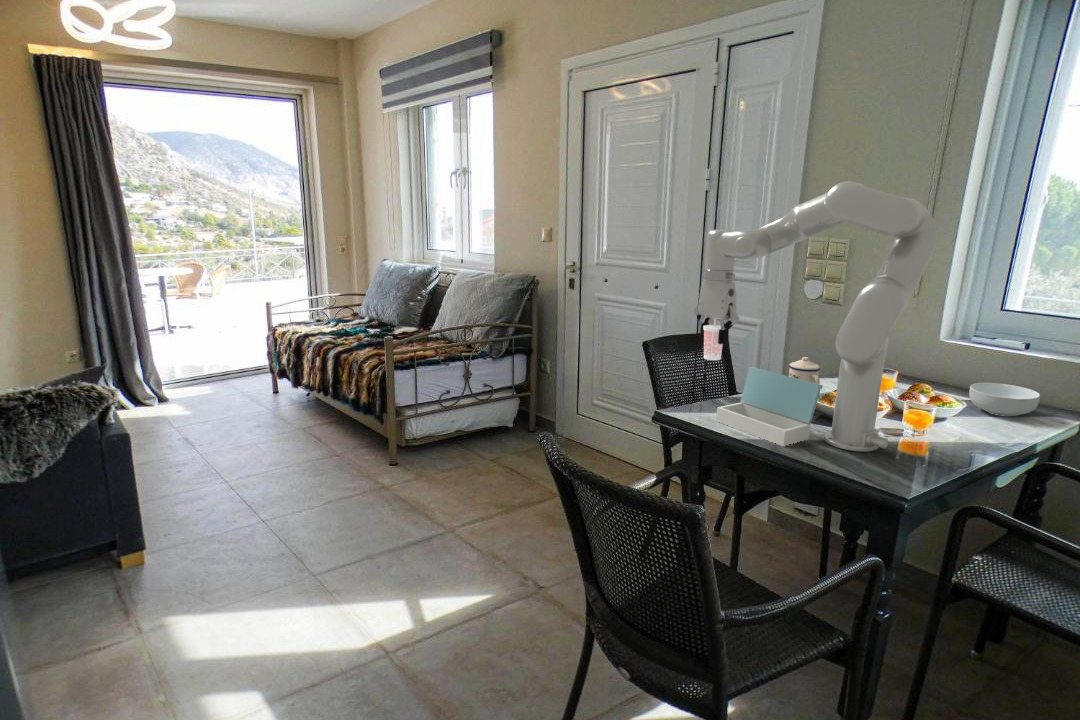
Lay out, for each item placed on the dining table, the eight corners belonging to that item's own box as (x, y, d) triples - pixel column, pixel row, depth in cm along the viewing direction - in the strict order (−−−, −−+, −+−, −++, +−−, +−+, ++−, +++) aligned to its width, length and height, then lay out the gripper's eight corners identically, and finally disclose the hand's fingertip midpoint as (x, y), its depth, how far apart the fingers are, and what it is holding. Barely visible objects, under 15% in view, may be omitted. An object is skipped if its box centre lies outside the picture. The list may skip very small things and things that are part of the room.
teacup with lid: (780, 389, 208) (784, 354, 206) (804, 388, 211) (808, 353, 208) (803, 400, 197) (808, 363, 194) (829, 398, 199) (833, 362, 197)
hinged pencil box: (808, 439, 163) (810, 424, 163) (783, 446, 158) (784, 431, 157) (740, 415, 182) (742, 402, 181) (715, 421, 176) (717, 407, 176)
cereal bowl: (963, 401, 199) (966, 379, 197) (1028, 409, 191) (1033, 386, 190) (970, 416, 184) (974, 393, 182) (1041, 426, 177) (1047, 401, 175)
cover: (808, 424, 162) (811, 424, 163) (819, 384, 161) (822, 385, 162) (740, 401, 180) (743, 402, 181) (749, 366, 179) (753, 366, 180)
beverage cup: (725, 357, 181) (729, 308, 177) (721, 361, 175) (725, 311, 172) (703, 355, 183) (706, 306, 180) (698, 359, 178) (702, 309, 174)
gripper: (753, 278, 169) (747, 345, 173) (704, 272, 183) (700, 334, 187) (733, 280, 165) (728, 348, 169) (685, 273, 179) (681, 337, 183)
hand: (713, 340), depth 178 cm, fingers closed on beverage cup, 6 cm apart
